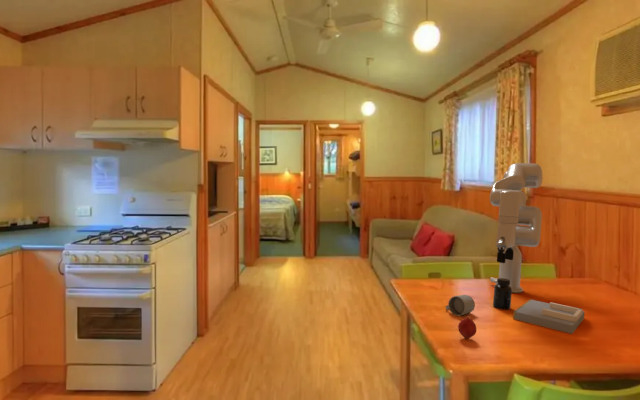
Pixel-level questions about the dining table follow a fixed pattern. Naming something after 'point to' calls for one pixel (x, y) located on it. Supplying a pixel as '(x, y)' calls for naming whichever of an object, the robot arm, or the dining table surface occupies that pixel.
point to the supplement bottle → (502, 294)
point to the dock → (550, 315)
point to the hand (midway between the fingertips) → (505, 261)
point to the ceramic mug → (461, 305)
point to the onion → (467, 328)
